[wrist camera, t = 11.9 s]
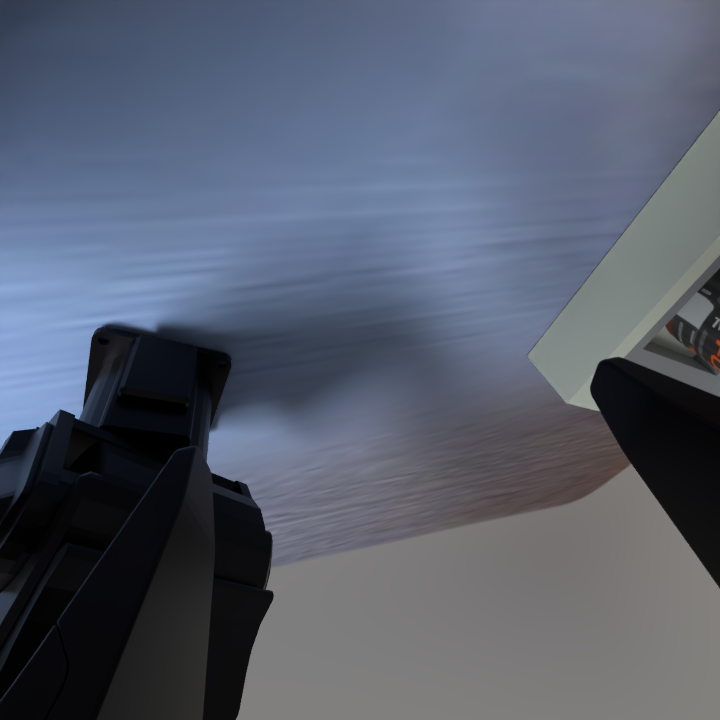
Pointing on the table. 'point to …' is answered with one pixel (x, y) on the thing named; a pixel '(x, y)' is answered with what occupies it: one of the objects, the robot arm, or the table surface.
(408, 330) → the table surface
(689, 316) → the supplement bottle
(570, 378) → the bore box
